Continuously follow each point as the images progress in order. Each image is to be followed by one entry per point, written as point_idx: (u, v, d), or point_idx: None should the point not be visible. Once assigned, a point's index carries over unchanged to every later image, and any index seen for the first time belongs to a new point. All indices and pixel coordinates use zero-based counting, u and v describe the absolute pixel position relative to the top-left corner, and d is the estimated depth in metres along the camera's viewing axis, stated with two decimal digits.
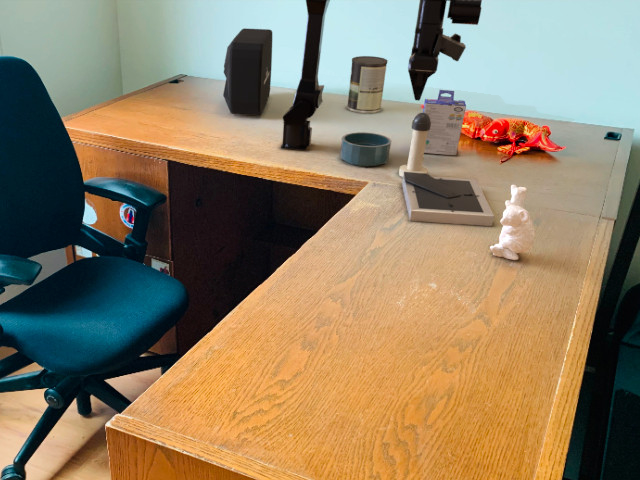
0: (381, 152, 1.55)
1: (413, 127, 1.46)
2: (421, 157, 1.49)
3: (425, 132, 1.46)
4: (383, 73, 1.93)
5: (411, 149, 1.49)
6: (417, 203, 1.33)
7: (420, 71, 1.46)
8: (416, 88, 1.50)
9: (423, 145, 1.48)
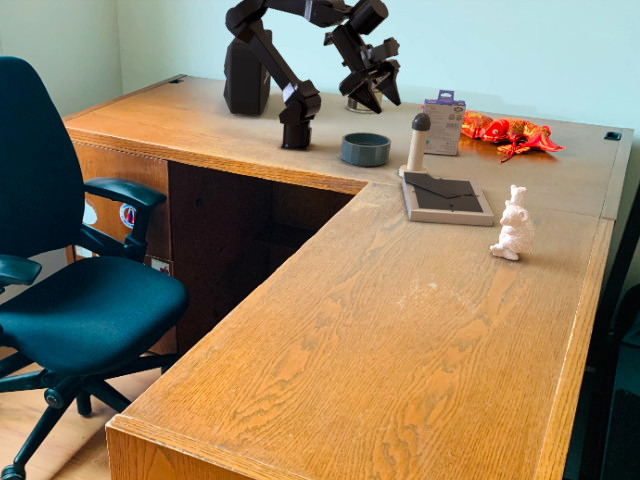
0: (381, 152, 1.55)
1: (413, 127, 1.46)
2: (421, 157, 1.49)
3: (425, 132, 1.46)
4: None
5: (411, 149, 1.49)
6: (417, 203, 1.33)
7: (355, 90, 1.44)
8: (369, 104, 1.46)
9: (423, 145, 1.48)
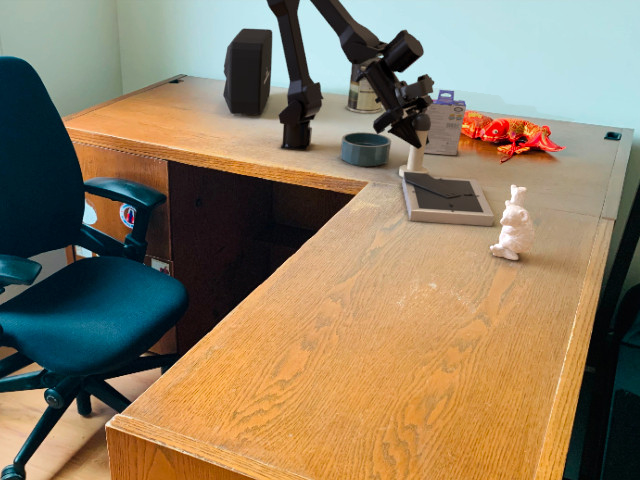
0: (381, 152, 1.55)
1: None
2: (421, 157, 1.49)
3: (425, 132, 1.46)
4: None
5: (411, 149, 1.49)
6: (417, 203, 1.33)
7: (395, 125, 1.45)
8: (409, 139, 1.47)
9: (423, 145, 1.48)
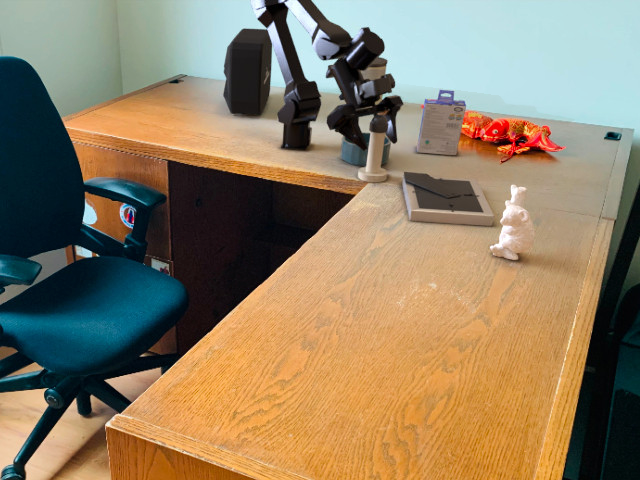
0: None
1: (369, 128, 1.45)
2: (378, 159, 1.47)
3: (381, 134, 1.44)
4: (383, 73, 1.93)
5: (368, 150, 1.48)
6: (417, 203, 1.33)
7: (340, 124, 1.43)
8: (355, 140, 1.44)
9: (379, 147, 1.46)
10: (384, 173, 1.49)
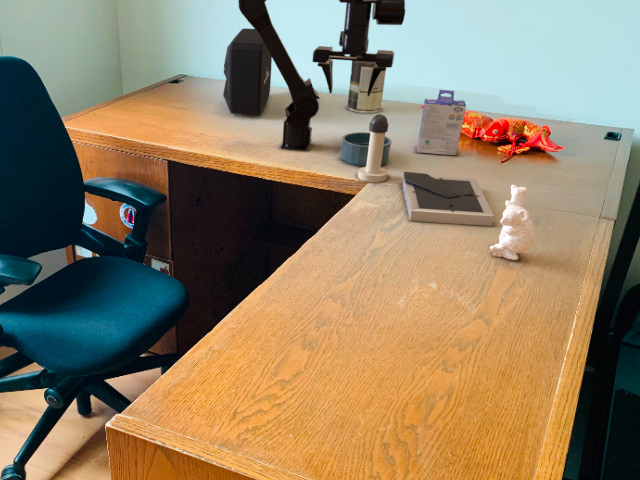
0: None
1: (369, 128, 1.45)
2: (378, 159, 1.47)
3: (381, 134, 1.44)
4: (383, 73, 1.93)
5: (368, 150, 1.48)
6: (417, 203, 1.33)
7: (386, 67, 1.57)
8: (373, 84, 1.59)
9: (379, 147, 1.46)
10: (384, 173, 1.49)
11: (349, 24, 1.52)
